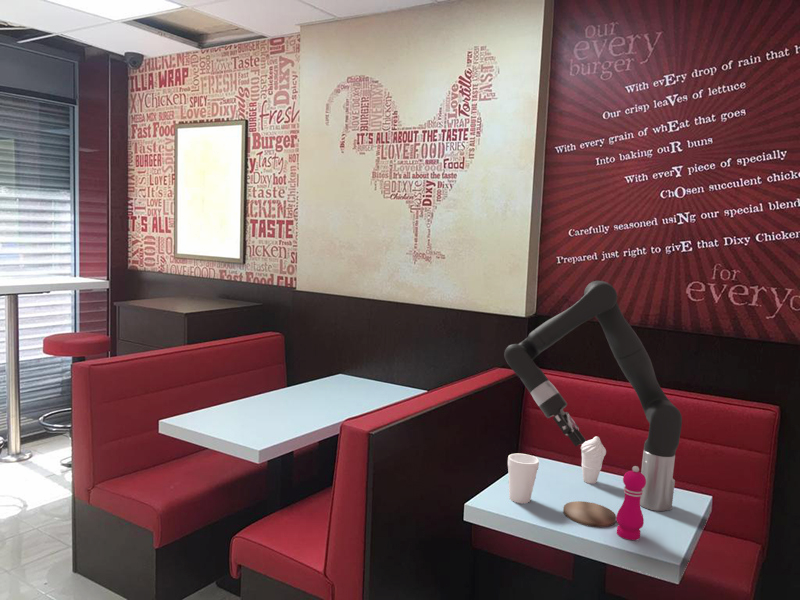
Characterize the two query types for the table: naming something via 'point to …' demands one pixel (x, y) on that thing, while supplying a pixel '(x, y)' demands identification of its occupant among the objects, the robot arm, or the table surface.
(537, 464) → the foam cup
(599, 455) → the soft serve ice cream cone
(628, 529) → the pepper mill
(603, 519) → the walnut board
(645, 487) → the robot arm
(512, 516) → the table surface
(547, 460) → the table surface
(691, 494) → the table surface
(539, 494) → the table surface
